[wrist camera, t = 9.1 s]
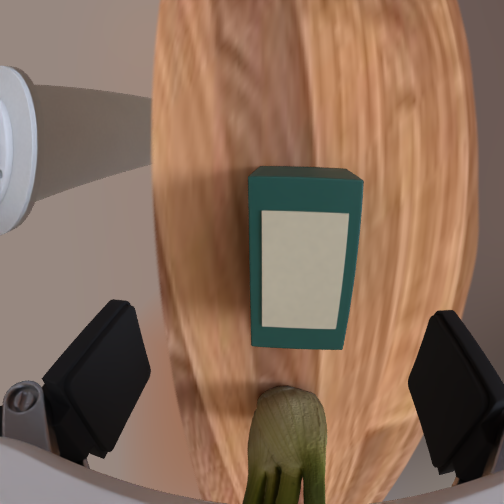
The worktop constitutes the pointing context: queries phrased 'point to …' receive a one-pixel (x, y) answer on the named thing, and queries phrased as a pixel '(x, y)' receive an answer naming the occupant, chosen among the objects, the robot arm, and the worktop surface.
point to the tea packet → (302, 255)
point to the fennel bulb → (287, 448)
